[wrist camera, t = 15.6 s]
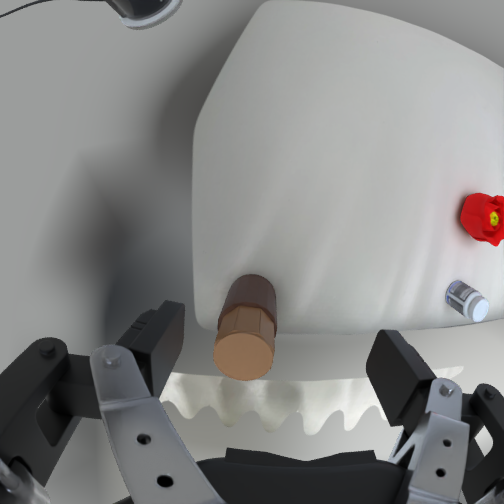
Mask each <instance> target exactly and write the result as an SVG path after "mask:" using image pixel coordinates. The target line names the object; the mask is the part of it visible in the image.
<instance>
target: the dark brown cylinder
mask: <svg viewBox="0 0 504 504" xmlns="http://www.w3.org/2000/svg"><path fill="white" fill-rule="evenodd" d="M238 306H248V307H255V308H261V309H262V310H263V311H264V312H265V313H266V315H267V316H268V317H269V318H270V319H271V320H272V322H273V323H274V338H275V336H276V331H277V314H276V296H275V291H274V288H273V286H272V285H271V283H270V282H269V281H268V280H267V279H265V278H264V277H262V276H259V275H254V274H249V275H244V276H242V277H240V278H238V279H237V280H236V281H235V282H234V283H233V284H232V286H231V288H230V290H229V292H228V295H227V298H226V300H225V303H224V306H223V308H222V311H221V314H220V316H219V319H218V331H219V328H220V325H221V323H222V320H223V317H224V316H225V315H226V314H228V313H229V312H231V311H232V310H234V309H235V308H237V307H238Z"/></svg>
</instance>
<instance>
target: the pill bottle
mask: <svg viewBox="0 0 504 504" xmlns="http://www.w3.org/2000/svg"><path fill="white" fill-rule="evenodd" d="M446 301H447V303H448V304H449V305H450V306H451V307H453V308H454V309H455V310H457V311H458V312H459V313H461V314H462V315H463V316H465V317H466V318H471V319H472V320H473V321H475V322H479V321H481V320H482V319H483V318H484V317H485V316H486V314H487V312H488V309H489V302H488V300H487V299H485V298H484V297H482V295H481V293H480V292H478V291H477V290H475V289H473V288H472V287H470V286H468V285H466V284H465V283H463V282H461V281H455V282H454V283H452V284H451V285H450V287H449V288H448V290H447V294H446Z"/></svg>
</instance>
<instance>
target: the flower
mask: <svg viewBox="0 0 504 504" xmlns="http://www.w3.org/2000/svg"><path fill="white" fill-rule="evenodd" d="M460 220H461V223H462V225H463V226H464V228H465V229H466V231H467V232H468V233H469V234H470V235H471V236H472V237H473V238H474V239H475V240H478V241H486V242H489V243H491V244H492V245H493V246H498V245H499V243H500V241H501V240H502V239H504V197H503V196H498V195H497V196H495V197H491V196H489V195H486V194H482V193H475V194H471V195H469V196H468V197H467V198H466V200H465V203H464V206H463V209H462V212H461V217H460Z"/></svg>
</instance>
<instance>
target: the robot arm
mask: <svg viewBox="0 0 504 504" xmlns="http://www.w3.org/2000/svg"><path fill="white" fill-rule="evenodd" d="M46 1H51V0H38V1H35V2H32V3H29V4H26V5H24V6H21V7H19V8H17V9H15V10H12V11H10V12H8V13H5V14H3V15H0V18H1V17H3V16H6V15H8V14H11V13H13V12H15V11H17V10H20V9H23V8H25V7H28V6H31V5H34V4H37V3H41V2H46ZM80 1H106V2H107V3H108V4H109V5H110V6H111V7H112V8H113V9H114V10H115V11H116V12H117V13H118V14H119V15H120V16H121V17H122V18H128V19H130V20H134V21H139V20H145V19H148V18H151V17H153V16H155V15H157V14H158V13H160V12H161V11H163V10H164V9H165V8H166V7H167V6H168V5H169V4H170V3H171V1H172V0H80ZM184 316H185V305H184V304H183V303H178V302H172V301H168V300H165V301H164V302H163V304H162V305H161V306H160V307H159V309H158V310H152V309H151V310H149V311H146V312H145V313H142V314H141V315H140V316H139V317H138V318H137V319H136V321H135V322H134V323H133V324H132V325H131V328H129V329H128V330H127V331H126V332H125V333H124V335H123V336H122V337H121V338H120V339H119V340H118V342H117V343H116V344H115V345H104V346H101V347H98V348H97V349H95V350H94V351H93V352H92V353H91V355H90V356H82V355H74V354H68V350H67V346H66V344H65V343H64V342H63V341H62V340H60V339H57V338H52V337H49V338H48V337H47V338H42V339H39V340H36V341H35V342H33V343H32V344H31V345H30V346H29V347H28V348H27V349H26V350H25V351H24V352H23V353H22V354H21V355H19V356H18V357H17V358H16V359H15V360H14V362H12V363H11V364H10V365H9V366H8V367H7V368H6V369H5V370H4V371H3V372H2V373H1V374H0V504H51V500H50V497H49V495H48V493H47V491H46V490H45V489H44V487H45V485H46V483H47V481H48V479H49V477H50V475H51V473H52V471H53V469H54V467H55V465H56V464H57V462H58V460H59V458H60V456H61V454H62V452H63V451H64V449H65V447H66V445H67V443H68V441H69V440H70V438H71V436H72V434H73V432H74V431H75V429H76V427H77V425H78V424H79V422H80V420H81V419H82V417H86V418H94V419H102V420H103V423H104V426H105V429H106V433H107V436H108V439H109V442H110V445H111V448H112V451H113V454H114V456H115V459H116V462H117V465H118V467H119V470H120V472H121V475H122V477H123V479H124V482H125V484H126V487H127V489H128V491H129V493H130V495H131V496H129V497H126V498H124V499H122V500H120V501H118V502H116V503H114V504H462V503H460V502H459V497H460V492H461V489H462V491H463V493H464V496H465V499H466V502H467V504H504V397H503V396H502V395H501V394H500V392H499V391H498V390H497V389H496V388H495V387H493V386H491V385H489V384H484V383H483V384H479V385H478V386H477V388H476V389H475V391H474V393H473V394H465V393H462V390H461V388H460V387H459V386H458V385H457V384H456V383H455V382H453V381H452V380H449V379H446V378H437V377H436V376H435V374H434V373H433V372H432V370H431V369H430V368H429V366H428V365H427V364H426V362H424V360H423V359H422V357H421V356H420V355H419V353H418V352H417V351H416V350H415V349H414V347H412V346H411V345H410V344H408V343H407V342H406V341H405V340H404V338H403V337H402V336H401V334H400V333H399V332H398V331H397V330H383V329H382V330H380V331H379V332H378V334H377V337H376V339H375V341H374V344H373V346H372V349H371V352H370V354H369V357H368V359H367V362H366V373H367V375H368V377H369V380H370V382H371V384H372V386H373V388H374V390H375V393H376V395H377V397H378V399H379V401H380V404H381V406H382V408H383V410H384V413H385V415H386V417H387V419H388V422H389V424H390V426H391V427H393V426H401V425H403V427H404V428H403V429H402V431H401V432H400V434H399V436H398V438H397V441H396V443H395V446H394V448H393V450H392V453H391V455H390V457H389V459H388V461H383V460H377V459H376V456H375V453H374V450H368V451H358V452H345V453H339V454H335V455H332V456H328V457H324V458H319V459H316V460H311V461H301V460H297V459H292V458H288V457H284V456H280V455H276V454H272V453H268V452H261V451H251V450H242V449H234V448H227V450H226V456H225V457H223V458H212V459H206V460H201V461H197V462H195V461H194V459H193V458H192V456H191V454H190V453H189V451H188V450H187V448H186V447H185V445H184V443H183V442H182V440H181V438H180V436H179V435H178V433H177V432H176V430H175V428H174V426H173V424H172V423H171V421H170V419H169V417H168V415H167V414H166V412H165V410H164V408H163V406H162V404H161V402H160V400H159V397H160V395H161V393H162V391H163V389H164V387H165V384H166V382H167V380H168V378H169V376H170V374H171V371H172V369H173V367H174V365H175V363H176V361H177V359H178V356H179V354H180V352H181V349H182V345H183V339H184ZM45 398H46V399H45ZM44 399H45V400H44ZM43 400H44V401H43ZM42 402H43V403H42ZM41 403H42V404H41ZM40 404H41V405H40ZM39 406H40V407H39ZM38 407H39V408H38ZM484 425H485V427H486V428H487V430H488V432H489V433H490V435H491V437H492V439H493V446H492V449H491V450H490V452H489V453H488V454H487V455H486V456H485V457H484V455H483V453H482V451H481V450H480V448H479V446H478V444H477V442H476V440H475V436H476V435H477V434H478V433H479V431H480V430H481V429H482V428H483V426H484Z"/></svg>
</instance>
